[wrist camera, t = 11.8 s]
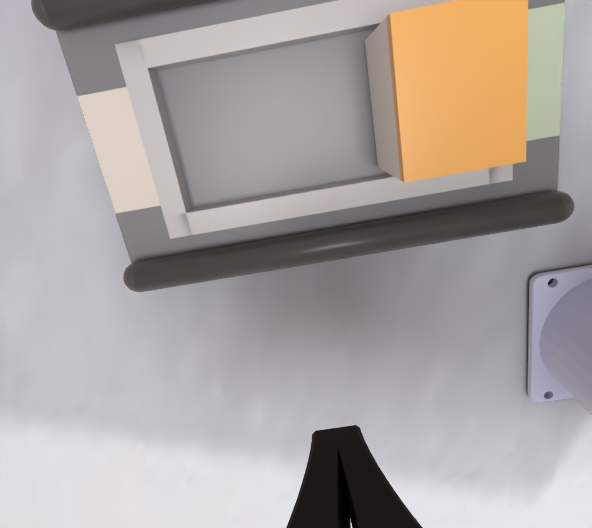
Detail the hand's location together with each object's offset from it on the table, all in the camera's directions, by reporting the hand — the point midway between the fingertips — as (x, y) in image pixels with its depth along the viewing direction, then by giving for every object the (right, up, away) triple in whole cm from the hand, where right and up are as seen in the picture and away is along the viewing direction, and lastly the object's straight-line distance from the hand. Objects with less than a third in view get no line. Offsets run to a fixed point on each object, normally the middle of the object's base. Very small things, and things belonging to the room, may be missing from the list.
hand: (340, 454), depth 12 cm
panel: (0, +12, +7) cm, 14 cm away
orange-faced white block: (+4, +13, +5) cm, 14 cm away
